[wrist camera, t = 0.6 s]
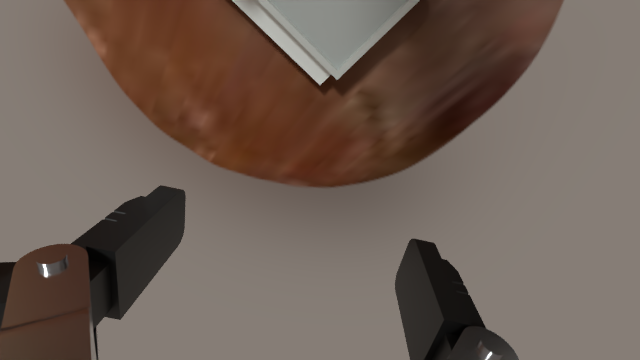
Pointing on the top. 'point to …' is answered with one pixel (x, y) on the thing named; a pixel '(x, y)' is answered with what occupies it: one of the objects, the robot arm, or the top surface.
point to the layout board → (325, 29)
